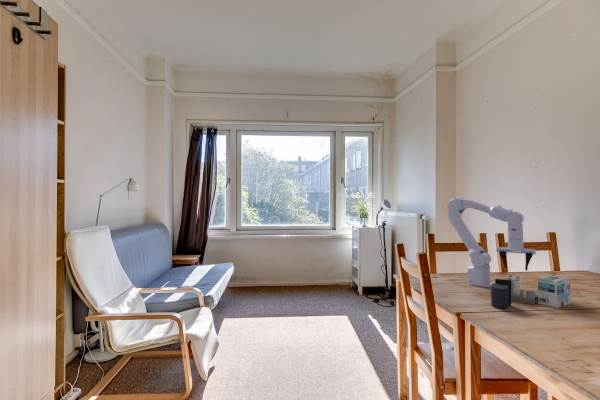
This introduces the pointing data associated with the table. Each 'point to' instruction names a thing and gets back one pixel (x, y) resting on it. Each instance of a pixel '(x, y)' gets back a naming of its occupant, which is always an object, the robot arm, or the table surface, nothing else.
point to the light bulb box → (554, 290)
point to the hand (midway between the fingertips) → (515, 269)
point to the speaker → (501, 293)
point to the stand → (524, 297)
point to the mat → (534, 291)
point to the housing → (515, 285)
